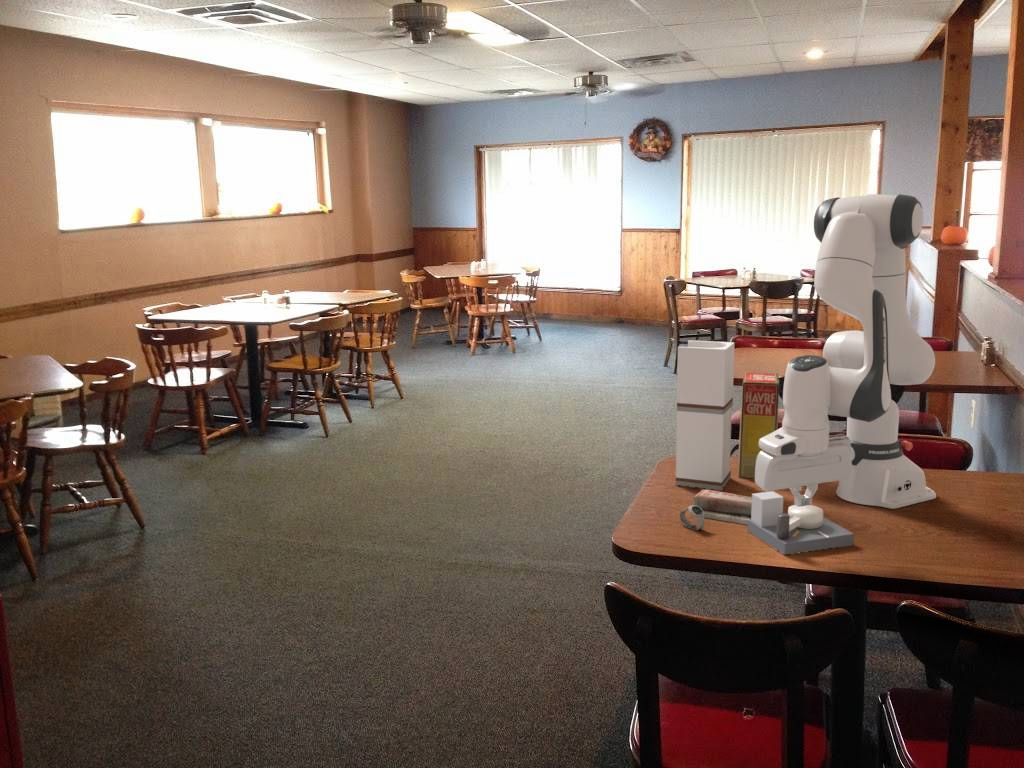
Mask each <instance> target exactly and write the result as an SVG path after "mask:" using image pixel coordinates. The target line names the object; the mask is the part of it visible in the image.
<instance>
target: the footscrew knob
mask: <svg viewBox="0 0 1024 768" xmlns="http://www.w3.org/2000/svg"><path fill="white" fill-rule="evenodd" d="M823 517H824V510H823V509H822V508H821V507H819V506H816V505H807V506H801V507H798V506H796V505H795V504H791V505H790V506H789V507H788V509H787V513H779V514H777V537H778V538H783V539H785V538H789V531H791V530H792V529H794V528H796V527H798V528H805V529H814V528H819V527H821V526H822V525H823Z"/></svg>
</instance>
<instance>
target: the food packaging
mask: <svg viewBox="0 0 1024 768" xmlns="http://www.w3.org/2000/svg"><path fill="white" fill-rule="evenodd" d="M741 385H742V388H741V405H740V420H739V437H738V475H737V476H738V478H741V477H747V478H746V479H755V466H756V459H757V456H758V454H759V452H760V451H762V449H761V448H760V447H759V439H760V438H762V437H764V436H766V435H768V434H770V433H772V432H774V431H776V430H778V423H779V422H778V420H779V419H778V418H779V398H780V394H779V393H780V378H779V374H778V373H776V372H774V373H773V372H756V371H755V372H753V371H750V372H749V371H748V372H746V371H745V372H744V373H743V378H742V384H741Z"/></svg>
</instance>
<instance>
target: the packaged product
mask: <svg viewBox="0 0 1024 768" xmlns="http://www.w3.org/2000/svg"><path fill="white" fill-rule="evenodd" d="M693 505H694V506H698V507H699V508H701V509H702V511H703V513H704V519H711V520H717V521H722V522H727V521H728V522H727V523H735V524H739V525H746V526H748V520H751V510H752V496H747V495H743V494H736V493H729V492H725V491H724V492H723V491H720V490H711V489H703V488H702V489H701V490H700V491H699V492H698V493H696V494H695V496H693ZM689 514H690V513H689ZM690 516H692V515H691V514H690Z"/></svg>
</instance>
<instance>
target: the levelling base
mask: <svg viewBox="0 0 1024 768" xmlns="http://www.w3.org/2000/svg"><path fill="white" fill-rule="evenodd" d="M751 497H752V510H751V520H748V525H747V528H746V529H747V532H749V533H750V534H751V533H752V534H751V535H753V536H754V535H755V536H754V537H756V538H757V537H758V538H757V539H759V538H760V539H761V540H760V539H759V540H760V541H762V540H763V541H764V542H763V541H762V542H763V543H765V542H766V543H767V544H766V543H765V544H766V545H768V544H769V545H771V546H773V547H774V548H776V549H777V550H779V551H780V552H781V553H783V554H791V555H793V554H792V553H798V552H805V553H807V552H806V551H812V552H815V551H814V550H818V551H822V550H821V549H825V550H828V549H827V548H832V549H837V548H836V547H838V548H845V547H849V546H850V547H851V546H854V537H855V535H854V533H853V532H851V531H849V530H847V529H846V528H844V527H842V526H840V525H839V524H837V523H834V522H833V521H831V520H829V519H828V518H826V517H824V516H823V525H822V526H821V527H819V528H814V529H805V528H798V527H796V528H794V529H792V530H791V531H789V538H785V539H783V538H778V537H777V514H779V513H783V512H784V511H783V510H784V496H782V495H781V494H778V493H777V492H775V491H764V492H756V493H751ZM769 545H768V546H769ZM771 546H770V547H771ZM774 548H773V549H774ZM777 550H776V551H777ZM780 552H779V553H780ZM781 553H780V554H781ZM783 554H782V555H783ZM798 554H799V553H798Z"/></svg>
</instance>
